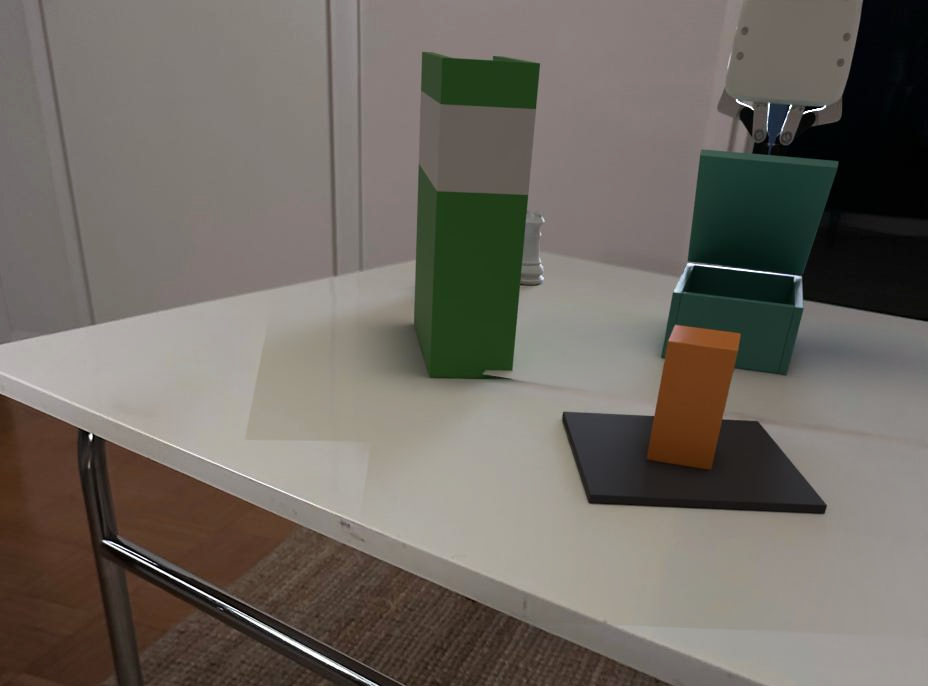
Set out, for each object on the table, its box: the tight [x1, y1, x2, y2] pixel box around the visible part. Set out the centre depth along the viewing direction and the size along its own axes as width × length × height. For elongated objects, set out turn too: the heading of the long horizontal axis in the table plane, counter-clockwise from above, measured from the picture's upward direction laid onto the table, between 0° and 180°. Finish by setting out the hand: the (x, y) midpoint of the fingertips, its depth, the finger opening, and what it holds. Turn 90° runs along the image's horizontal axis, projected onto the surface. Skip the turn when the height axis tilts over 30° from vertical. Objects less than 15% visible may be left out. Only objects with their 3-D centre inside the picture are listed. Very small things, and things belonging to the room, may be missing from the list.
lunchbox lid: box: [686, 148, 839, 276], centre depth 87 cm, size 15×12×1 cm
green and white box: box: [413, 51, 541, 380], centre depth 83 cm, size 18×7×24 cm, turn 6°
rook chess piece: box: [520, 209, 546, 286], centre depth 113 cm, size 4×4×8 cm
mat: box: [561, 411, 828, 514], centre depth 68 cm, size 16×16×1 cm
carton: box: [647, 325, 741, 470], centre depth 65 cm, size 5×5×8 cm
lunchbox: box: [660, 262, 805, 376], centre depth 91 cm, size 15×12×7 cm
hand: (761, 190), depth 86 cm, fingers closed
